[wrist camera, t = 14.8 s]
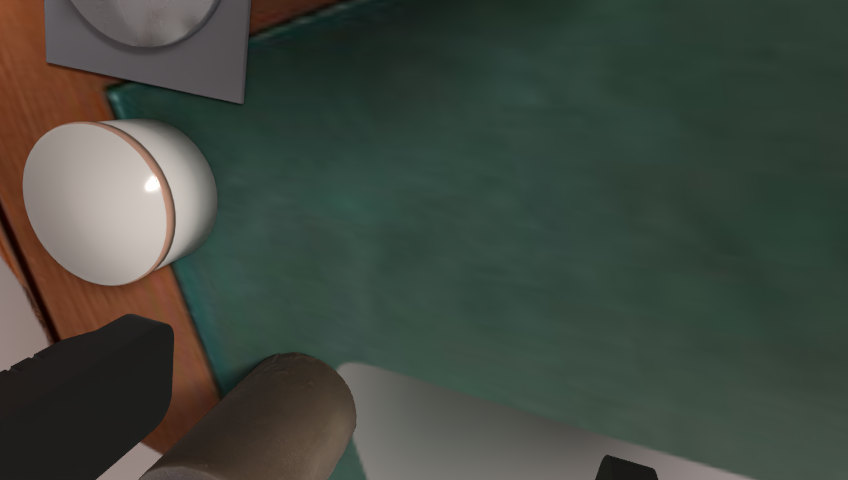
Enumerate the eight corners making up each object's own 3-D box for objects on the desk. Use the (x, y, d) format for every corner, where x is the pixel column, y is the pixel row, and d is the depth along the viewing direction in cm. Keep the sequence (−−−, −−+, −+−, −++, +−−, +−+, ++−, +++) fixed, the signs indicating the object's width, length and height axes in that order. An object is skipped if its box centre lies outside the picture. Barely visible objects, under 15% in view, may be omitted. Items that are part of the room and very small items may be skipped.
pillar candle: (300, 329, 43) (171, 449, 29) (382, 422, 44) (295, 584, 30) (226, 391, 46) (79, 526, 33) (303, 477, 47) (191, 645, 33)
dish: (90, 103, 42) (17, 106, 36) (223, 133, 40) (168, 142, 34) (91, 241, 45) (25, 264, 40) (214, 275, 43) (163, 304, 38)
